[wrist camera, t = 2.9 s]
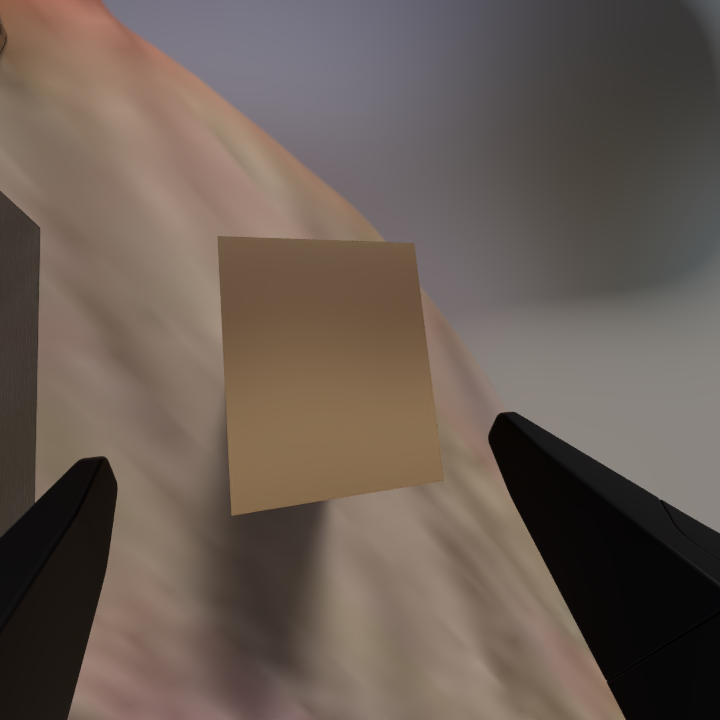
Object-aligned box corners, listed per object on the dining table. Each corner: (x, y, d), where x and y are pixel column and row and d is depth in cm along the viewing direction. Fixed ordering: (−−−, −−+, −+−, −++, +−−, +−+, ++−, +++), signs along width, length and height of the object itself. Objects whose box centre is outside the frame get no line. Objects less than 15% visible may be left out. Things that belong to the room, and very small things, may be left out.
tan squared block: (332, 447, 18) (443, 480, 7) (244, 458, 17) (231, 515, 6) (323, 344, 19) (414, 242, 8) (238, 348, 17) (217, 236, 7)
